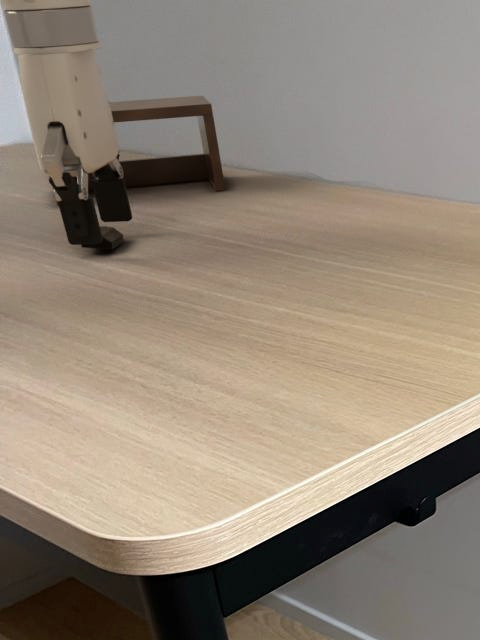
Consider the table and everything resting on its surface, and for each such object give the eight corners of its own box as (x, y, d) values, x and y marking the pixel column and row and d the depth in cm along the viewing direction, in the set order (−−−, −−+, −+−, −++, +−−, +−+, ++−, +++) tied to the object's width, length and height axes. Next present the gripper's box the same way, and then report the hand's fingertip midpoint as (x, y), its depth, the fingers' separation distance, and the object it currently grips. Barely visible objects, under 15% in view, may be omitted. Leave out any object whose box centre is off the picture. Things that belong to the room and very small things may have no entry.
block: (81, 256, 98) (77, 236, 97) (89, 242, 103) (85, 223, 102) (119, 253, 98) (115, 233, 97) (125, 239, 103) (121, 221, 102)
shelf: (57, 206, 119) (34, 116, 114) (59, 191, 127) (37, 107, 121) (225, 190, 124) (211, 103, 118) (217, 177, 132) (203, 95, 126)
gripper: (48, 28, 97) (94, 214, 107) (-28, 42, 83) (33, 255, 93) (123, 24, 97) (162, 211, 107) (60, 38, 83) (112, 252, 93)
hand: (102, 231), depth 100 cm, fingers open, 9 cm apart
